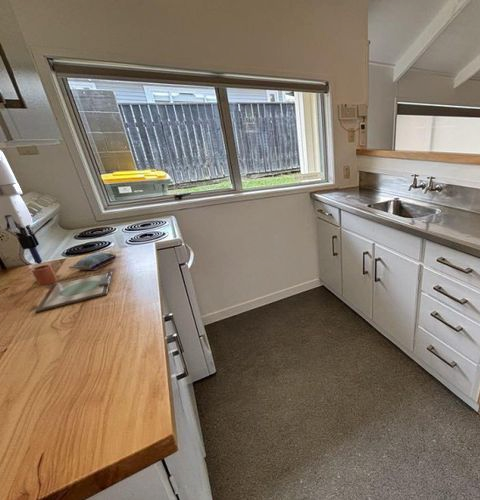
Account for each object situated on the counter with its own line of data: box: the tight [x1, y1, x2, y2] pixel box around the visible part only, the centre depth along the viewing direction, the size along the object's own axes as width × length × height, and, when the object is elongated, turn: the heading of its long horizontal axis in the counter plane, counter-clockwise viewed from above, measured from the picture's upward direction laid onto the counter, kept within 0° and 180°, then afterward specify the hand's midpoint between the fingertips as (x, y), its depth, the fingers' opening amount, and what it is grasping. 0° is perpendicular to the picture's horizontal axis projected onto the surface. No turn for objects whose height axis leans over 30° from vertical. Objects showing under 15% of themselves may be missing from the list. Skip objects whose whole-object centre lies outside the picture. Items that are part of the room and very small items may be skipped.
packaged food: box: [68, 252, 118, 271], centre depth 108 cm, size 9×12×5 cm
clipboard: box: [34, 271, 113, 314], centre depth 91 cm, size 16×20×1 cm
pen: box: [23, 230, 43, 265], centre depth 93 cm, size 2×2×12 cm
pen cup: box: [30, 264, 58, 286], centre depth 96 cm, size 5×5×6 cm
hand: (31, 246), depth 93 cm, fingers closed on pen, 1 cm apart
